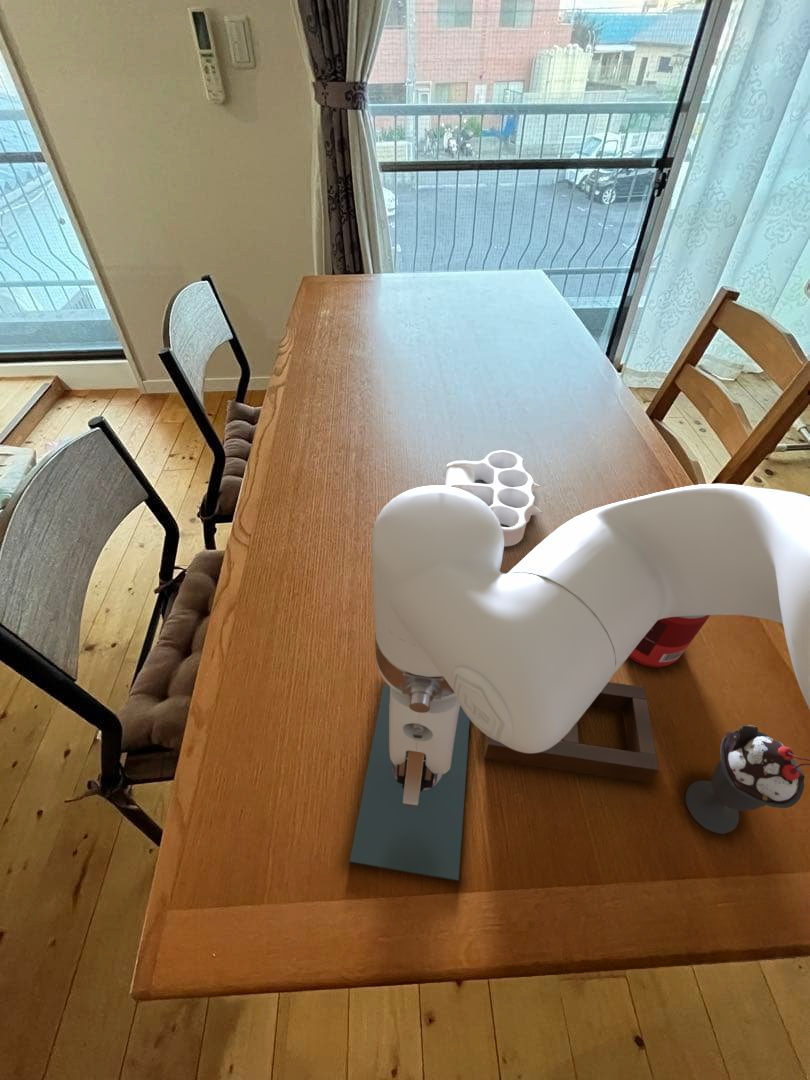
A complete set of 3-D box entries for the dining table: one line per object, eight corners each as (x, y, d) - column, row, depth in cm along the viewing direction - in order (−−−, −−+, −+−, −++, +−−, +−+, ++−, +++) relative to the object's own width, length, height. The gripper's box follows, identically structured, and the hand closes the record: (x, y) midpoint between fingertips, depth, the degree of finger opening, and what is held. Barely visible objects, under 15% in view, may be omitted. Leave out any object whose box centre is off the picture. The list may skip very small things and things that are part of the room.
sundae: (751, 854, 52) (847, 798, 41) (676, 828, 53) (749, 768, 42) (746, 785, 56) (831, 718, 45) (676, 763, 58) (743, 693, 47)
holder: (646, 783, 56) (658, 770, 54) (484, 758, 58) (488, 744, 55) (634, 702, 62) (644, 686, 60) (487, 681, 64) (491, 665, 61)
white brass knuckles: (447, 462, 91) (537, 470, 90) (439, 540, 79) (542, 550, 78) (449, 445, 89) (541, 453, 88) (440, 523, 76) (547, 534, 75)
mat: (458, 881, 50) (458, 880, 50) (349, 862, 51) (349, 861, 50) (471, 699, 62) (471, 697, 62) (383, 686, 63) (383, 684, 63)
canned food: (688, 634, 69) (727, 577, 61) (670, 682, 64) (709, 627, 56) (628, 605, 72) (658, 548, 64) (606, 649, 67) (635, 593, 59)
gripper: (474, 773, 33) (450, 856, 46) (487, 559, 44) (465, 675, 58) (350, 754, 33) (362, 842, 47) (395, 548, 45) (394, 665, 58)
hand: (419, 748), depth 52 cm, fingers closed on pill bottle, 5 cm apart
